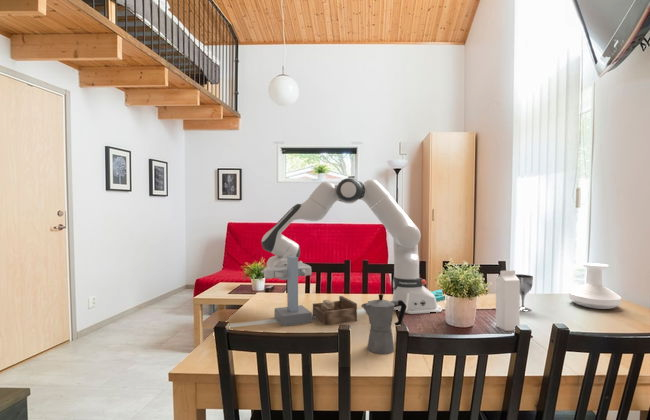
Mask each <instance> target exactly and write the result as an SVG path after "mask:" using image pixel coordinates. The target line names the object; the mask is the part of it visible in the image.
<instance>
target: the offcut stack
mask: <svg viewBox="0 0 650 420" xmlns="http://www.w3.org/2000/svg"><path fill="white" fill-rule="evenodd" d="M322 303H323V305H321V310H323V311H324V312H325V311H333V310H334V302H332V300H330V299H324V300H322Z"/></svg>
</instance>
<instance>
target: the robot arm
mask: <svg viewBox="0 0 650 420" xmlns="http://www.w3.org/2000/svg"><path fill="white" fill-rule="evenodd" d="M358 200H361V201H363V202H364V203H365V204H366V205H367V206H368V208H369V209H370V211H372V213H373V214H374V215H375V216H376V217H377V219H378V220H379V221H380V222H381V225H383V227H384V228H385V229H386V230H387V231H388V233H389V234H390V235H391V237H392V239H393V259H394V260H393V263H394V265H393V266H394V267H393V269H394V270H393V273H394V274H393V277H392V278H393V279H392V288H393V293H392V299H391V301H398V300H402V301H403V302H404V303H405V304H406V310H405V313H404V314H408V315H417V314H431V313H430V312H436V313H441V311H442V312H443V308H442V306H441V305H440V304H438V303H437V302H438V301H436V298H435V296H434V294H433V293H431V292H430V290H429V289H428V288H427V287H426V286H425V285H426V284H427V281H426V279H423V278H421V277H420V257H419V243H420V241H421V237H422V235H421V231H420V229H419V227H418V226H417V225H416V224H415V223H414V222H413V220H412V219H411V218H410V217H409V216H408V215H407V213H406V212H405V211H404V210H403V208H401V206H400V205H399V204H398V203H397V202H398V201H396V200H395V199H394V198H393V196H392V195H391V193H389V191H388V190H387V189H386V188H385V187H384V186H383V185H382V184H381V183H380V182H379V181H377V180H376V179H373V178H372V179H367V180H366V181H364V182H362V181H360V180H357V179H354V178H349V177H347V178H344V179H342V180H340V181H339V183H338V184H334V183H332V182H330V181H322V182H321V183H320V184H319V185H318V186H317V187H315V188H314V190H313V191H312V193H311V194H310V195H309V197H308V198H307V199H306V200H305V201H303V202H302V203H297V204H295V205H293V206H292V207H291V208H290V209H289V210H288V211H287V212H286V213H285V214H284V215H283V216H282V217H281V218H280V219H279V220H278V221H277V223H275V224H274V226H273V227H271V228H270V229H269V230H268V231H267V232H265V234H264V235H263V236H262V238H261V241H260V243H261V246H262V248H263V250H264V251H266V252H269V253H271V254H273V255H272V256H271V257H269V258H268V260H267V262H266V267H264V269H263V270H261V271H260V273H261V274H262V275H263V276H264V279H279V280H281V281H286V280H287V256H296V257H298V259H299V258H300V255H301V248H300V247H301V246H300V245H299V244H298V243H297V242H296V241H294V240H292V239H291V238H288V237H287V236H285V235H284V234H282V233H283V232H284V231H285V230H286V229H287V228H288V226H290V224H291V223H293V222H294V221H296V220H305V221H310V222H318V221H321V220H323V219H324V218H325V217H326V216H327V214H328V213H329V212H330V210H331V208H332V207H333V205H334V204H335V203H336V202H341V203H345V204H353V203H355V202H356V203H357V201H358ZM307 276H312V266H310V265H309V264H306V263H303V261H302V260H298V277H307ZM400 309H401V306H397V307H394V311H396V310H398V311H397V312H400Z"/></svg>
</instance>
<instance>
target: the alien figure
mask: <svg viewBox="0 0 650 420" xmlns="http://www.w3.org/2000/svg"><path fill="white" fill-rule="evenodd" d="M442 290H443V289H437V290H433V291H430V290H429V291H430V292H431V293H433V294H434V296H435V298H436V302H441V301H444V300H446V299H445V296H443V292H442Z"/></svg>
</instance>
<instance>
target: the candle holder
mask: <svg viewBox="0 0 650 420" xmlns="http://www.w3.org/2000/svg"><path fill="white" fill-rule="evenodd" d="M580 264H581V265H582V266H583V267H585V268H586V270H587V273H586V274H587V276H586V277H587V279H586V280H587V281H586V283H585V284H582V285H579V286H577V287H575V288H573V289H572V290H570V291H569V292H568V297H569V299H570V300H571V301H573V302H574V303H575V304H576V305H579V306H580V307H581V306H582V307H585V308H589V309H597V310H610V309H615V308H617V307H618V306H620V305H622V296H620V295H619V294H618V293H616V292H615V291H612V290H611V289H610V288H608V287H606V286H604V285H603V270H604V269H606V268H607V267H609V264H606V263H597V262H596V263H595V262H581V263H580Z"/></svg>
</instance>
